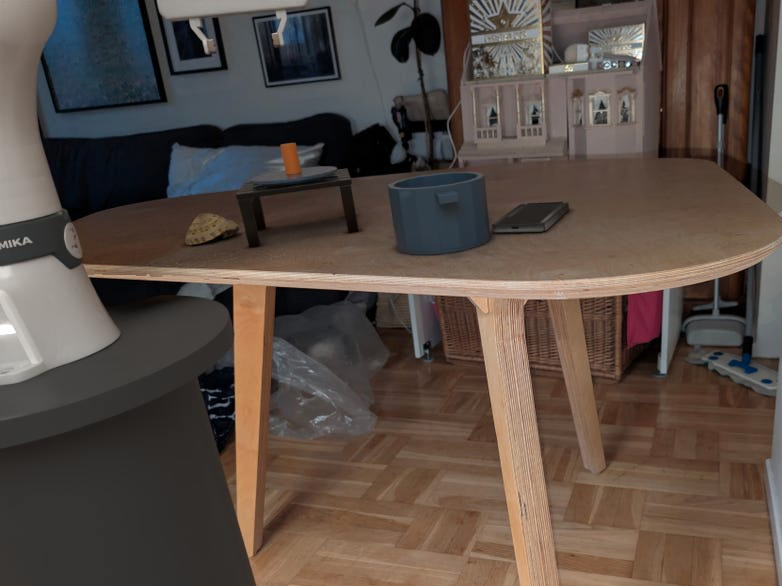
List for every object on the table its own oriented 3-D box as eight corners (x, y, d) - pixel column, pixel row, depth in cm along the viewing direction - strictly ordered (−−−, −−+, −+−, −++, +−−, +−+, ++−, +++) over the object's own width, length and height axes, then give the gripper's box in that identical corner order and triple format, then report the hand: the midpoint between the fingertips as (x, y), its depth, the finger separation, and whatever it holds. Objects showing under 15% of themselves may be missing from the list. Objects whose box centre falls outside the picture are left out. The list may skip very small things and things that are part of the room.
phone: (570, 201, 107) (543, 223, 94) (570, 208, 107) (544, 231, 94) (520, 203, 109) (488, 225, 97) (521, 210, 110) (489, 233, 97)
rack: (247, 248, 106) (235, 194, 103) (256, 229, 120) (245, 181, 117) (360, 231, 108) (351, 179, 105) (355, 214, 123) (347, 168, 120)
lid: (247, 192, 104) (238, 153, 102) (254, 181, 116) (247, 146, 114) (339, 179, 106) (332, 141, 104) (337, 170, 118) (330, 135, 116)
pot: (405, 264, 86) (395, 196, 83) (391, 236, 103) (382, 178, 99) (504, 249, 88) (498, 181, 85) (475, 224, 105) (469, 166, 101)
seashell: (247, 222, 114) (197, 211, 109) (242, 256, 115) (191, 247, 110) (232, 217, 120) (184, 206, 115) (227, 249, 121) (178, 240, 116)
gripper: (135, -60, 90) (165, 57, 95) (297, -72, 93) (317, 41, 99) (146, -51, 96) (174, 59, 101) (298, -63, 99) (317, 44, 104)
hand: (245, 50), depth 100 cm, fingers open, 8 cm apart
